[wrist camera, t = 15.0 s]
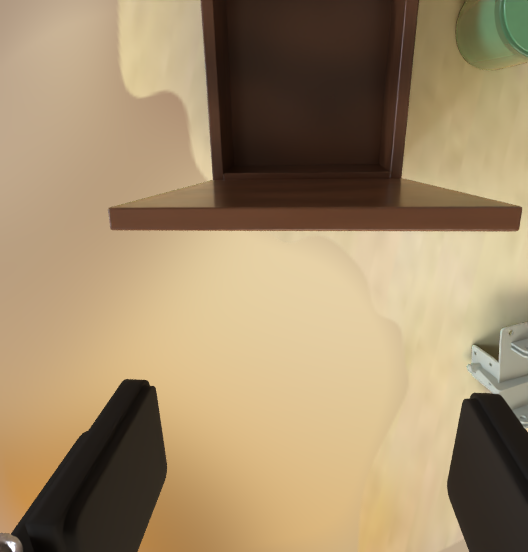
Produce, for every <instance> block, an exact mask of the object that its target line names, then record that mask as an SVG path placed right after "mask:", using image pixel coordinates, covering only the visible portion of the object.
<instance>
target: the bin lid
mask: <svg viewBox="0 0 528 552" xmlns="http://www.w3.org/2000/svg"><path fill="white" fill-rule="evenodd" d="M108 213H109V220H110V228H111V230H198V231H200V230H203V231H205V230H208V231H209V230H210V231H211V230H212V231H213V230H215V231H217V230H218V231H222V230H223V231H235V230H236V231H518V230H519V226H520V220H521V214H522V207H520V206H517V205H513V204H508V203H504V202H500V201H496V200H491V199H487V198H483V197H479V196H475V195H470V194H466V193H462V192H458V191H454V190H449V189H445V188H441V187H437V186H432V185H428V184H424V183H420V182H416V181H411V180H407V179H403V178H376V179H271V180H211V181H207V182H203V183H200V184H196V185H192V186H188V187H185V188H181V189H177V190H173V191H170V192H166V193H163V194H159V195H155V196H151V197H148V198H144V199H140V200H136V201H133V202H129V203H125V204H121V205H117V206H114V207H110V208H109V209H108Z"/></svg>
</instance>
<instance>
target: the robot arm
mask: <svg viewBox="0 0 528 552" xmlns="http://www.w3.org/2000/svg"><path fill="white" fill-rule="evenodd" d="M166 473H167V462H166V455H165V448H164V441H163V434H162V427H161V421H160V413H159V407H158V400H157V393H156V388H155V387H154V386H150V385H149V382H148V381H147V380H133V379H132V380H131V379H130V380H129V379H126V380H124V381H123V382H122V383H121V384H120V386H119V387H118V389H117V390H116V391H115V393H114V395H113V396H112V397H111V399H110V400H109V402H108V403H107V405H106V406H105V407H104V409H103V410H102V412H101V413H100V415H99V416H98V418H97V419H96V420H95V422H94V423H93V425H92V426H91V428H90V429H89V431H86V432H84V433H83V434H82V435H81V436H80V437H79V438H78V439H77V441H76V443H75V444H74V445H73V446H72V448H71V449H70V451H69V452H68V454H67V455H66V456H65V458H64V459H63V461H62V462H61V464H60V465H59V466H58V468H57V469H56V471H55V472H54V474H53V475H52V476H51V478H50V479H49V481H48V482H47V483H46V485H45V486H44V488H43V489H42V491H41V492H40V493H39V495H38V496H37V498H36V499H35V500H34V502H33V503H32V505H31V506H30V508H29V509H28V511H27V512H26V513H25V515H24V516H23V517H22V519H21V520H20V522H19V523H18V525H17V526H16V527H15V529H14V530H13V532H12V533H11V534H8V533H0V552H137V551H138V549H139V546H140V544H141V541H142V539H143V536H144V533H145V531H146V528H147V526H148V523H149V520H150V518H151V515H152V512H153V510H154V507H155V505H156V502H157V500H158V497H159V494H160V492H161V489H162V487H163V484H164V481H165V478H166ZM447 489H448V495H449V499H450V502H451V504H452V507H453V510H454V512H455V515H456V518H457V520H458V523H459V525H460V528H461V531H462V533H463V536H464V539H465V541H466V544H467V547H468V549H469V552H528V432H527V431H526V429H525V428H524V426H523V425H522V424H521V422H520V421H519V419H518V418H517V416H516V415H515V414H514V412H513V411H512V409H511V408H510V407H509V405H508V404H507V402H506V401H505V399H504V398H503V397H502V396H501V395H500V394H490V393H473V394H472V395H471V396H470V399H464V400H463V403H462V408H461V413H460V418H459V423H458V429H457V434H456V439H455V444H454V449H453V455H452V460H451V465H450V470H449V476H448V481H447Z"/></svg>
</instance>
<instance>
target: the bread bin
mask: <svg viewBox="0 0 528 552" xmlns="http://www.w3.org/2000/svg"><path fill="white" fill-rule="evenodd" d="M418 5H419V0H201V11H202V26H203V41H204V55H205V70H206V85H207V100H208V114H209V129H210V144H211V158H212V173H213V180H271V179H376V178H401V176H402V166H403V156H404V146H405V136H406V126H407V116H408V106H409V96H410V85H411V75H412V65H413V55H414V45H415V35H416V25H417V15H418Z"/></svg>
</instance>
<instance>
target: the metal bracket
mask: <svg viewBox="0 0 528 552" xmlns="http://www.w3.org/2000/svg"><path fill="white" fill-rule="evenodd" d="M510 330H512V333H511V334H510V335H509V334H508V333H509V331H510ZM491 364H492V365H491ZM467 370H468V371H469V372H470V373H472V376H473V377H474V378H475V379H477V380H478V381H479V382H480V383H481V384H483V385H484V386H485V387H486V388H487V389H489V390H490V391H491V392H492V393H493V394H500V395H501V396H502V397H503V398H504V399H505V401H506V402H507V404H508V405H509V407H510V408H511V409H512V411H513V412H514V414H515V415H516V416H517V418H518V419H519V421H520V422H521V424H522V425H523V426H524V428H528V321H527V322H523V323H519V324H515V325H512V326H508V327H504V328H502V329H501V331H500V346H499V361H497V360H496V359H495V358H493V357H492V356H490V355H489V354H488V353H486V352H485V351H483V350H482V349H481V348H479V347H478V346H476V345H472V363H471V365H470V364H468V365H467Z"/></svg>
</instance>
